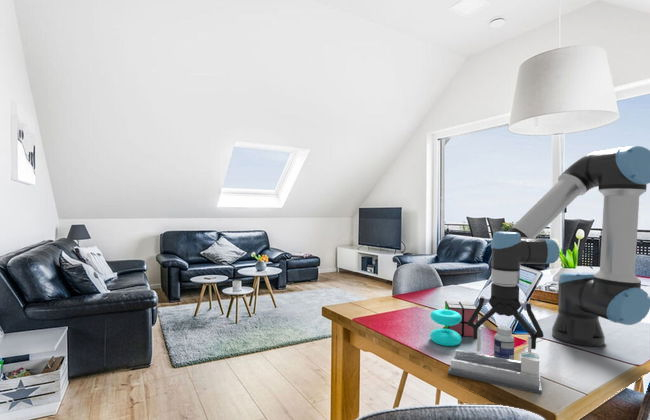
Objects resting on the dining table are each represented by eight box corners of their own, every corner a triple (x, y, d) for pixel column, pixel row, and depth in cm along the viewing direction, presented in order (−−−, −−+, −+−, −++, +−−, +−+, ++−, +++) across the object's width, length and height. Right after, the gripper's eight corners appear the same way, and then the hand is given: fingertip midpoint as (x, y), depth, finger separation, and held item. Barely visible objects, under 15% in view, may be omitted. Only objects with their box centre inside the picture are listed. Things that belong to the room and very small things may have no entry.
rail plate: (539, 376, 100) (539, 363, 100) (541, 394, 90) (541, 380, 90) (454, 359, 110) (454, 347, 110) (448, 374, 100) (448, 361, 100)
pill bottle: (491, 355, 113) (492, 324, 113) (510, 357, 112) (511, 325, 112) (496, 363, 107) (497, 330, 107) (516, 365, 106) (516, 331, 106)
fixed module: (538, 376, 97) (538, 353, 97) (539, 385, 93) (539, 361, 92) (520, 372, 99) (521, 350, 99) (520, 381, 94) (521, 357, 94)
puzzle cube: (477, 337, 128) (478, 309, 128) (447, 335, 130) (448, 307, 130) (472, 328, 138) (472, 302, 138) (444, 326, 140) (444, 300, 140)
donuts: (455, 308, 129) (466, 317, 119) (455, 336, 129) (466, 347, 119) (427, 308, 129) (435, 316, 119) (426, 336, 129) (435, 347, 119)
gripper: (553, 286, 107) (551, 358, 107) (462, 277, 118) (460, 342, 119) (555, 291, 100) (553, 368, 100) (459, 281, 112) (457, 350, 112)
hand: (503, 354), depth 110 cm, fingers open, 13 cm apart
